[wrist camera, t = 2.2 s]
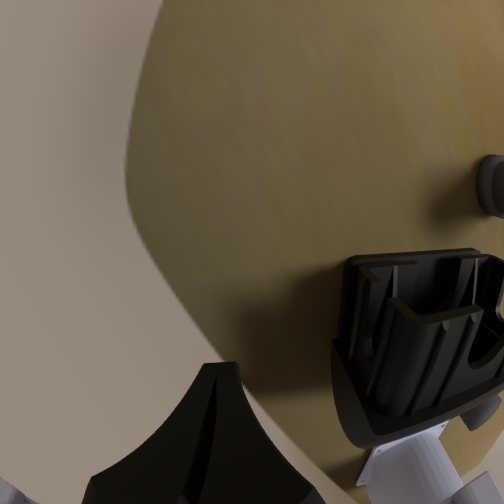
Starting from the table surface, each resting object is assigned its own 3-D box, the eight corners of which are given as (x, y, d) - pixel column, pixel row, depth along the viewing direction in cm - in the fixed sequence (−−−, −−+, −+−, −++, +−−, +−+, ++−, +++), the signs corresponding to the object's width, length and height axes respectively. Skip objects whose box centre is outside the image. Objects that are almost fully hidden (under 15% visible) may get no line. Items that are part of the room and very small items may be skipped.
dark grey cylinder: (462, 383, 16) (490, 421, 11) (430, 397, 16) (458, 440, 11) (476, 350, 15) (511, 387, 10) (444, 364, 15) (479, 408, 10)
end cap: (322, 375, 14) (354, 474, 8) (333, 255, 12) (411, 343, 6) (454, 345, 14) (508, 405, 8) (480, 246, 12) (561, 290, 6)
